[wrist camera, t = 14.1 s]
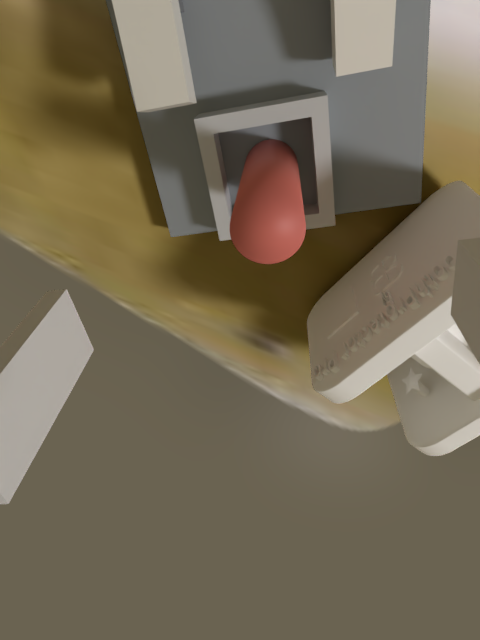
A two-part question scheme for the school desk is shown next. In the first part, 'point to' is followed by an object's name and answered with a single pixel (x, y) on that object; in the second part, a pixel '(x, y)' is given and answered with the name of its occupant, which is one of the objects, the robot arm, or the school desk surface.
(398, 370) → the cable organizer
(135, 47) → the block
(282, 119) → the panel
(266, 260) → the red capsule
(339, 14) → the block
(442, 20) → the school desk surface
